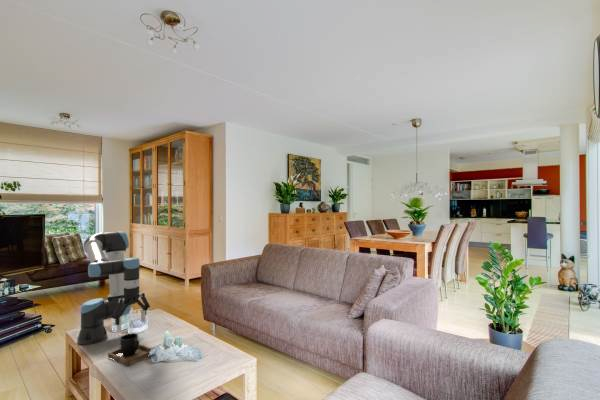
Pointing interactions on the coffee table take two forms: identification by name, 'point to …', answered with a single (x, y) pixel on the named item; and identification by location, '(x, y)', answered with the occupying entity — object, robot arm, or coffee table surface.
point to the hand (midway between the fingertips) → (131, 325)
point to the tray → (130, 360)
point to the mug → (129, 344)
